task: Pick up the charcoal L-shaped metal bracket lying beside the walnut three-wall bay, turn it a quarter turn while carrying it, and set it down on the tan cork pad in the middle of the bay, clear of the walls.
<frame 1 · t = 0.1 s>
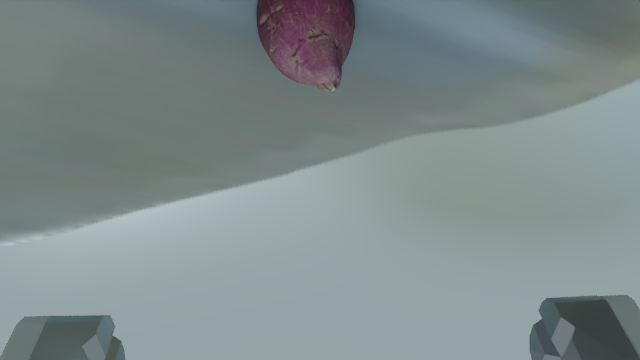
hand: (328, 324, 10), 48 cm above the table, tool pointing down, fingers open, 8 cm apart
vegetable: (305, 12, 56), on the table
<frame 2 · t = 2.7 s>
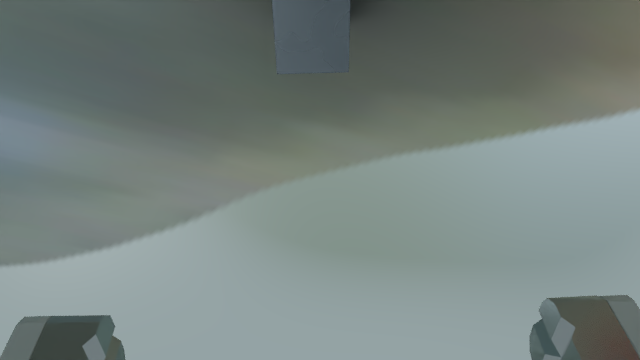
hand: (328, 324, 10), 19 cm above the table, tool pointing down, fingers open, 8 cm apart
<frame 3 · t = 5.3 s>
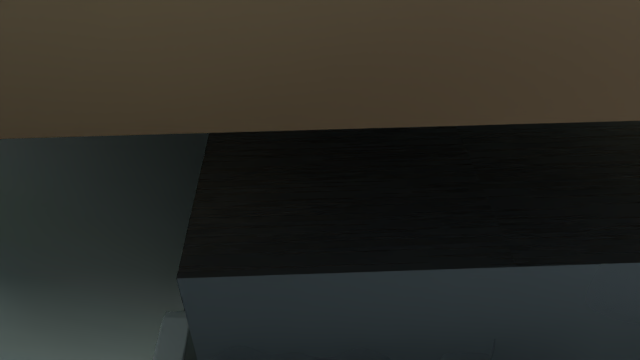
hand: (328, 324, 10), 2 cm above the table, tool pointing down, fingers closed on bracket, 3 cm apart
bracket: (324, 204, 11), on the table, touching gripper
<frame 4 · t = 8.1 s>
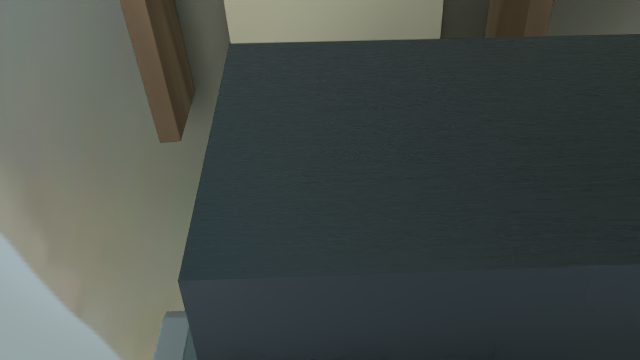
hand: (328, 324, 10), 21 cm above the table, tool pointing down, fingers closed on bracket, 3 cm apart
bracket: (323, 206, 11), point 19 cm above the table, touching gripper
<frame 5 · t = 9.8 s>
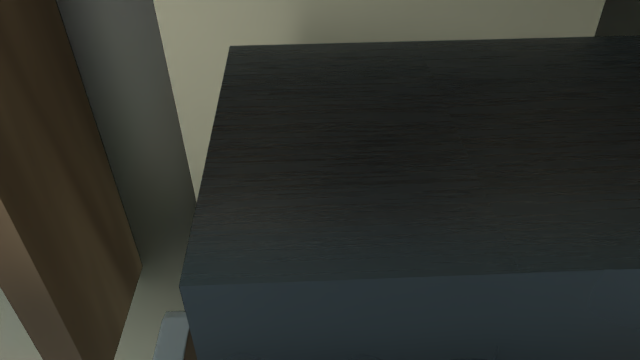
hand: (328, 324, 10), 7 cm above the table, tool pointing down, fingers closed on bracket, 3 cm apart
bracket: (324, 208, 11), point 5 cm above the table, touching gripper
bay: (375, 82, 15), on the table
pad: (375, 82, 15), on the table
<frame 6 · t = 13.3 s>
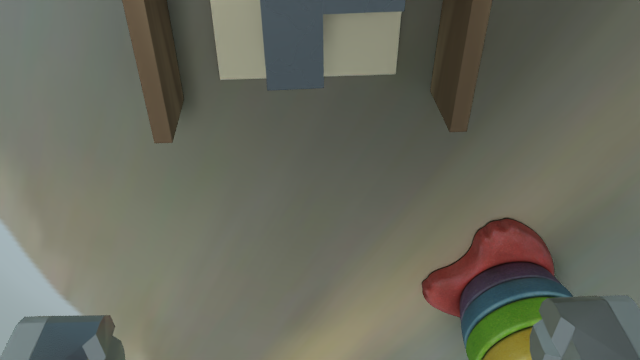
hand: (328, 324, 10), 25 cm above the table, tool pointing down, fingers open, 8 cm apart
stacking bear: (494, 270, 47), on the table
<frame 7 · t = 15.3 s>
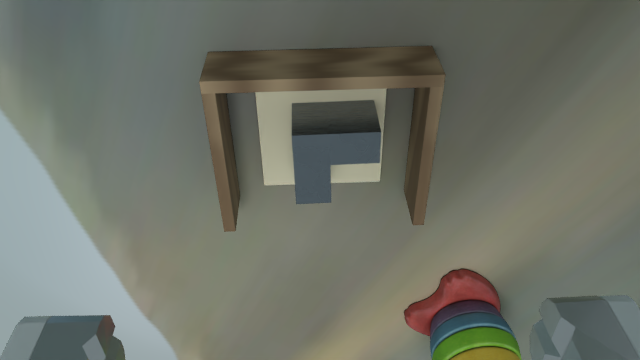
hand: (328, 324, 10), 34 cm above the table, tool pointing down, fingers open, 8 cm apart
bracket: (310, 136, 48), resting on pad
bay: (321, 132, 48), on the table
stacking bear: (457, 303, 64), on the table
pad: (321, 132, 48), on the table
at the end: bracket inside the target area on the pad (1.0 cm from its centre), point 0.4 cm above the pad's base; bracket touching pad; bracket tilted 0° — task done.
